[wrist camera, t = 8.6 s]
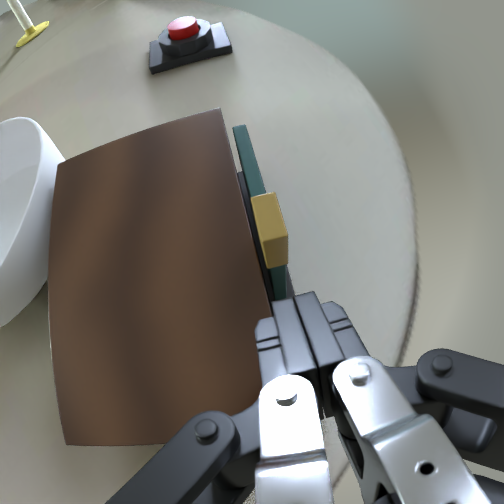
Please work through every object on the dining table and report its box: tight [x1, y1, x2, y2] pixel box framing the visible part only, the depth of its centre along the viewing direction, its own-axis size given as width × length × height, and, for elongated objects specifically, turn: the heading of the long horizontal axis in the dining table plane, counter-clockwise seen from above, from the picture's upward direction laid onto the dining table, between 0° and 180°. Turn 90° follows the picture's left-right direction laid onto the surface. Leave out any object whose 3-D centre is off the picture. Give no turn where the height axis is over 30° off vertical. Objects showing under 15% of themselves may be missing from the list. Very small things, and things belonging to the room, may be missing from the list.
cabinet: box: [48, 108, 295, 446], centre depth 19 cm, size 14×18×8 cm
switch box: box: [149, 19, 232, 74], centre depth 33 cm, size 10×7×3 cm
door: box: [232, 124, 288, 301], centre depth 18 cm, size 1×9×10 cm, turn 12°
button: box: [167, 16, 199, 40], centre depth 31 cm, size 4×4×2 cm
